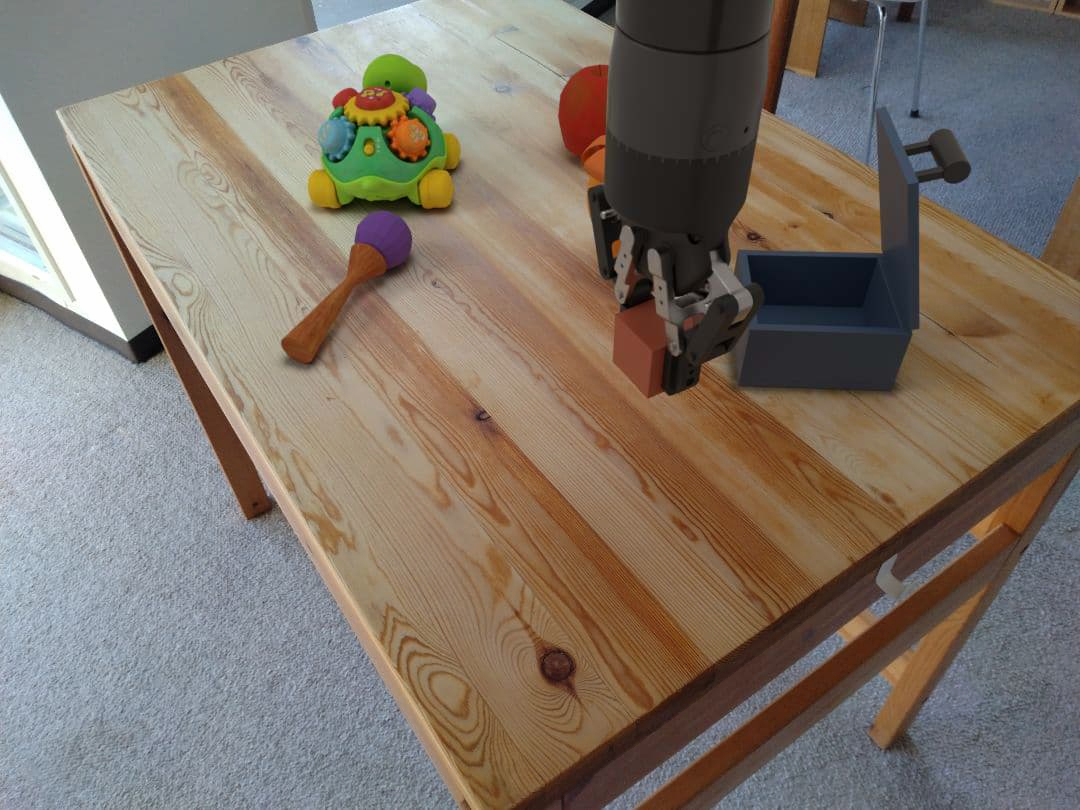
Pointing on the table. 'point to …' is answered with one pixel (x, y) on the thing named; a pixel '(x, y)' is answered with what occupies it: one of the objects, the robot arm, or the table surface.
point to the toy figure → (597, 173)
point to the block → (642, 346)
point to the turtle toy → (385, 142)
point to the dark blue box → (821, 321)
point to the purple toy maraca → (352, 279)
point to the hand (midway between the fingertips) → (656, 365)
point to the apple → (584, 108)
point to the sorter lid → (909, 202)
